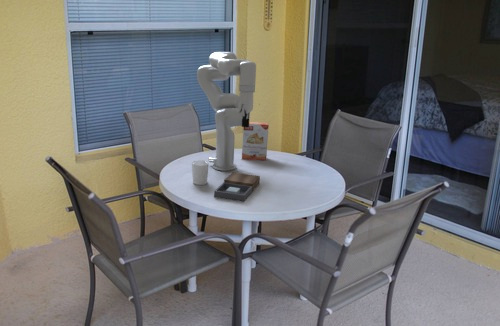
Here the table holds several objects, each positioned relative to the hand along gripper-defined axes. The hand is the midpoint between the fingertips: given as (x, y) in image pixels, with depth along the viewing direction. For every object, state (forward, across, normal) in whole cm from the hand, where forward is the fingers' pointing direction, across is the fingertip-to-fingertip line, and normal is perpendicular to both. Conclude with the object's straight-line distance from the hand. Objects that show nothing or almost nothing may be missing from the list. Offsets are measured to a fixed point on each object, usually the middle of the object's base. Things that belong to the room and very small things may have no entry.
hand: (245, 126), depth 236 cm
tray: (+27, +21, +2) cm, 34 cm away
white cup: (+27, +12, -18) cm, 35 cm away
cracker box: (+27, -37, -5) cm, 46 cm away
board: (+27, +8, +2) cm, 28 cm away
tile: (+24, +22, +2) cm, 33 cm away
